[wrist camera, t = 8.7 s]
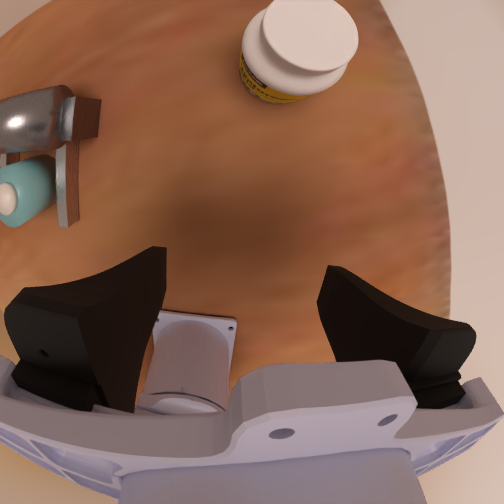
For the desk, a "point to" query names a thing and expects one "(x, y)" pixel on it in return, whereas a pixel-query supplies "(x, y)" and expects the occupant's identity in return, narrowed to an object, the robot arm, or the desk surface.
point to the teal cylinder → (27, 189)
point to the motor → (50, 136)
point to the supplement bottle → (296, 49)
